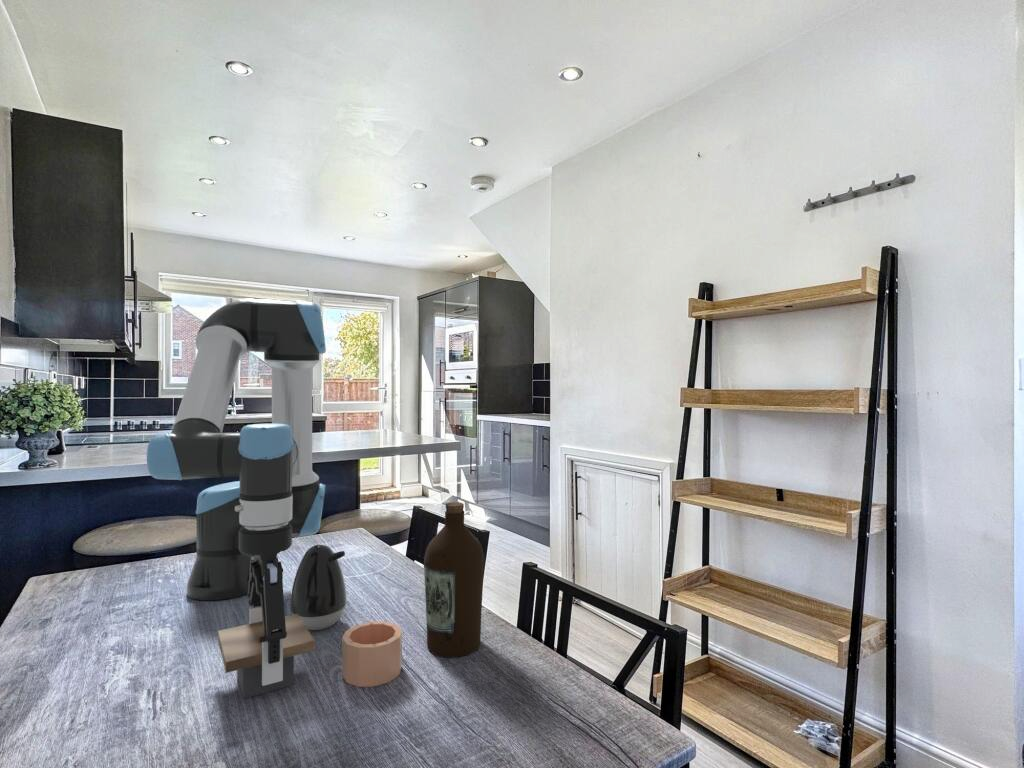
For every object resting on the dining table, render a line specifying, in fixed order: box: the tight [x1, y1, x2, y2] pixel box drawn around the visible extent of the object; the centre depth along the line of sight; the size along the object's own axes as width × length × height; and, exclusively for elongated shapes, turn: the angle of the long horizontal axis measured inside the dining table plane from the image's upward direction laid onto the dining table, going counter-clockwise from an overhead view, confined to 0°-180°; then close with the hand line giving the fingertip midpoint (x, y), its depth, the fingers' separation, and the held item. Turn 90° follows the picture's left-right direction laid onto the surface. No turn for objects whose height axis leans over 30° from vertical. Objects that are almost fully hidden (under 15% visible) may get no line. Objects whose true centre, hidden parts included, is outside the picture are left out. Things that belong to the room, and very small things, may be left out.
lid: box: [217, 614, 316, 674], centre depth 85 cm, size 12×12×2 cm
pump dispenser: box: [289, 544, 347, 631], centre depth 105 cm, size 10×10×15 cm
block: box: [236, 656, 295, 700], centre depth 85 cm, size 7×7×6 cm
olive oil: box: [423, 501, 485, 658], centre depth 97 cm, size 11×11×25 cm
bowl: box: [341, 620, 403, 688], centre depth 88 cm, size 9×9×6 cm
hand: (265, 663), depth 85 cm, fingers closed on lid, 12 cm apart
